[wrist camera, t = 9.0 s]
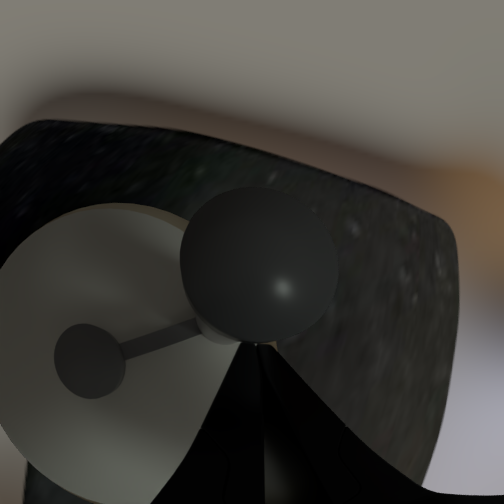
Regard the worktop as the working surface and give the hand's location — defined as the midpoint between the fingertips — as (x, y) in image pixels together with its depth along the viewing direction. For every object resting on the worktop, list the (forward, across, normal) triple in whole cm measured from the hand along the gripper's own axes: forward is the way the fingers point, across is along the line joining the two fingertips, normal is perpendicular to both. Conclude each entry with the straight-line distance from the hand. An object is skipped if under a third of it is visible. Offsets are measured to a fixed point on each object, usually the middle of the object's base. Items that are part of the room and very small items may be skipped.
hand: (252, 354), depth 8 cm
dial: (+3, +6, +4) cm, 8 cm away
